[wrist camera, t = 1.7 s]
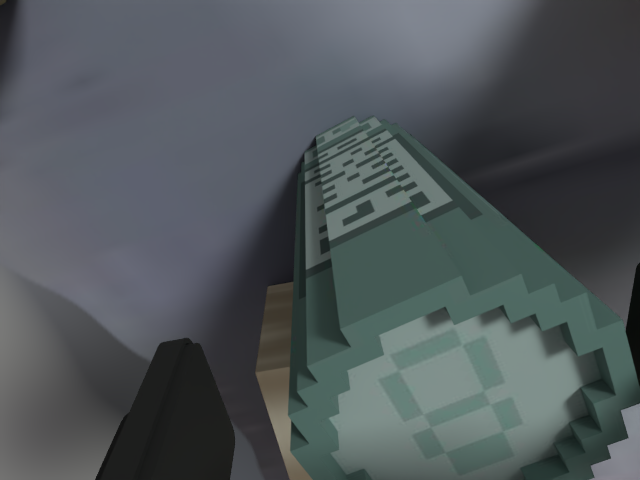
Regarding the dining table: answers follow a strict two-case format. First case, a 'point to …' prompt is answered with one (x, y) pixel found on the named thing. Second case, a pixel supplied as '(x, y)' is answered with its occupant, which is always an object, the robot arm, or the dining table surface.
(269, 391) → the well block
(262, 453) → the dining table surface
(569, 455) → the can
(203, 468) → the robot arm
